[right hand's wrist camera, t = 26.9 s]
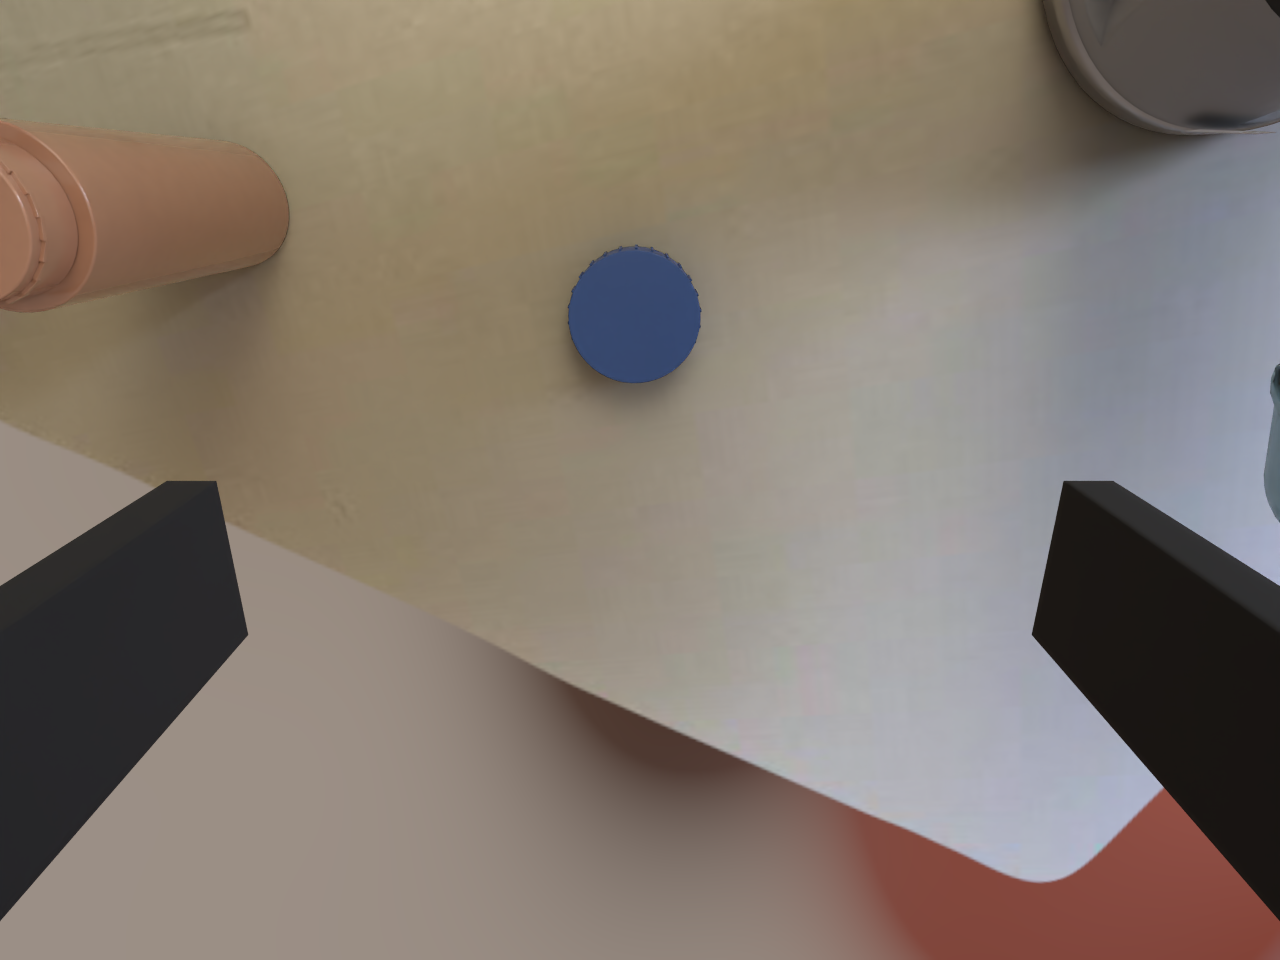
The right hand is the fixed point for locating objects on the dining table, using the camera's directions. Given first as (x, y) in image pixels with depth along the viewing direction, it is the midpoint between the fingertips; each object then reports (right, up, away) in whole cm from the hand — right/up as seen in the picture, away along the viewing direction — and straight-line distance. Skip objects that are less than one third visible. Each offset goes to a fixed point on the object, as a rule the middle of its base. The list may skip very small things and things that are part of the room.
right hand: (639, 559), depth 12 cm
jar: (-18, +14, +22) cm, 32 cm away
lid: (0, +9, +22) cm, 24 cm away
